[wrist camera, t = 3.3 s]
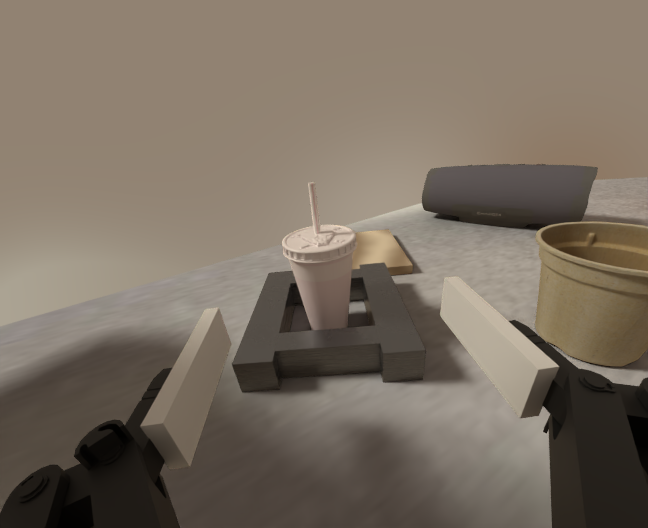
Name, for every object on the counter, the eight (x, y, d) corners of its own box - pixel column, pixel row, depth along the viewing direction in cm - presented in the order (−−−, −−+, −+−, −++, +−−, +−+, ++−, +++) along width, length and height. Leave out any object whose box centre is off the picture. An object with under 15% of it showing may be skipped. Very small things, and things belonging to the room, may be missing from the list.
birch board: (305, 282, 34) (304, 274, 34) (310, 243, 47) (310, 237, 46) (412, 273, 34) (412, 265, 33) (388, 235, 46) (388, 229, 46)
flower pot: (491, 307, 26) (509, 225, 22) (591, 301, 25) (628, 216, 22) (563, 388, 18) (613, 281, 14) (717, 384, 17) (815, 269, 13)
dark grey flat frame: (242, 391, 20) (231, 364, 19) (273, 293, 33) (268, 272, 31) (422, 379, 20) (425, 350, 18) (384, 284, 32) (384, 262, 31)
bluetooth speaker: (575, 222, 43) (597, 158, 39) (575, 241, 37) (601, 168, 33) (436, 210, 57) (440, 162, 53) (419, 222, 51) (422, 169, 47)
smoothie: (351, 302, 29) (342, 173, 23) (370, 340, 24) (365, 184, 17) (295, 313, 29) (270, 183, 22) (301, 356, 23) (271, 197, 17)
